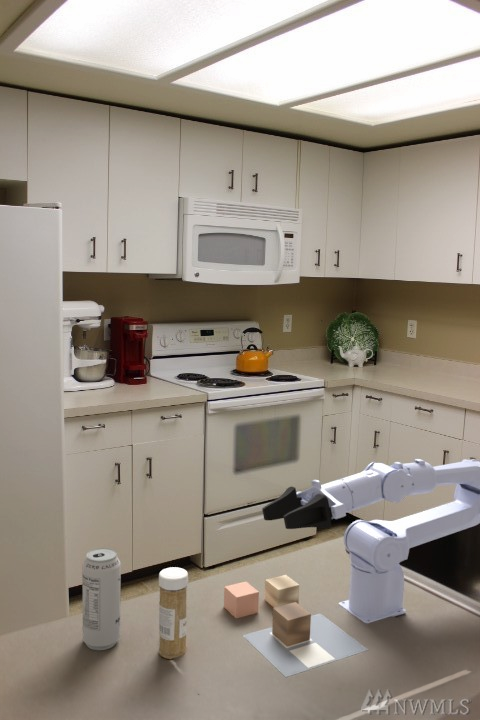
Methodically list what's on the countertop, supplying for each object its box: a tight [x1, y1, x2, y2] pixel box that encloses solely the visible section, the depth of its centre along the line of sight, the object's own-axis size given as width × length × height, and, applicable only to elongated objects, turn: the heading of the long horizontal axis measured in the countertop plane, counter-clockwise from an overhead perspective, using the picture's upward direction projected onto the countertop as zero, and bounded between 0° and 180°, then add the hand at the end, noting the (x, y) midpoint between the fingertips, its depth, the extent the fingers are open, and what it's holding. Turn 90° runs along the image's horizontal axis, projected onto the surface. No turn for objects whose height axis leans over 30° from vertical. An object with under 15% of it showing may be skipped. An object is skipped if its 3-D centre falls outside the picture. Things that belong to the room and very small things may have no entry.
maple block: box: [264, 574, 300, 608], centre depth 123 cm, size 4×4×4 cm
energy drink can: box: [81, 547, 122, 651], centre depth 108 cm, size 6×6×15 cm
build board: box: [242, 613, 369, 678], centre depth 110 cm, size 16×13×1 cm
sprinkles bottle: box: [158, 566, 189, 660], centre depth 106 cm, size 5×5×13 cm
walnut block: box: [271, 602, 312, 647], centre depth 111 cm, size 4×4×4 cm
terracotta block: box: [223, 580, 260, 619], centre depth 119 cm, size 4×4×4 cm
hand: (274, 518), depth 110 cm, fingers open, 7 cm apart
